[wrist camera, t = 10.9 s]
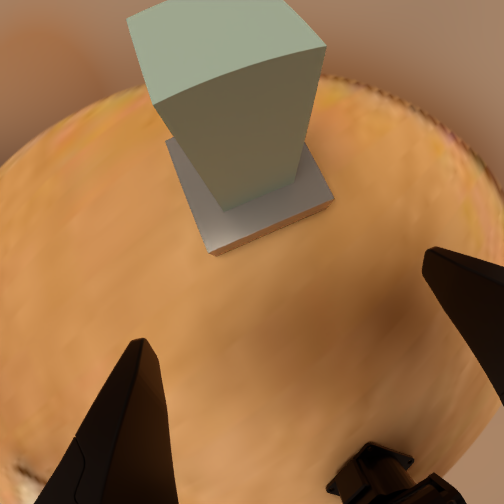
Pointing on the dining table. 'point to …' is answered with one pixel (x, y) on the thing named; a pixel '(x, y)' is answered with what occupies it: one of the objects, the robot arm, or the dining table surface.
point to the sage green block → (232, 88)
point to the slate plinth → (250, 204)
